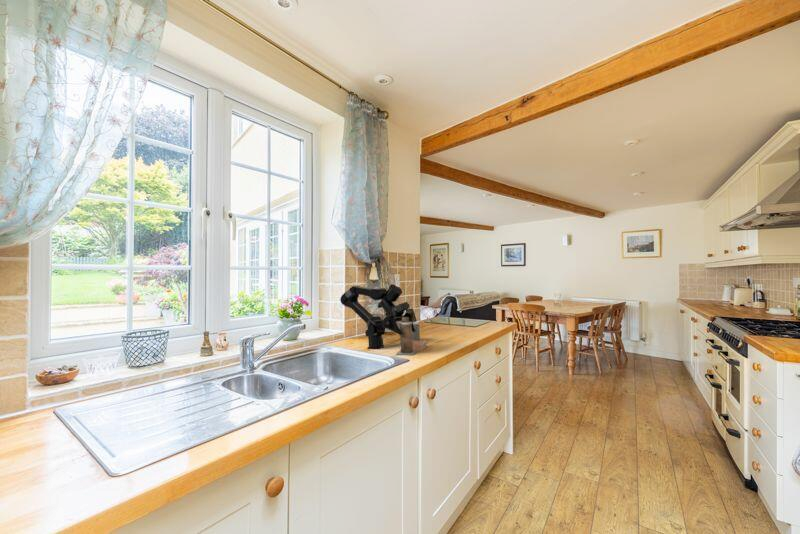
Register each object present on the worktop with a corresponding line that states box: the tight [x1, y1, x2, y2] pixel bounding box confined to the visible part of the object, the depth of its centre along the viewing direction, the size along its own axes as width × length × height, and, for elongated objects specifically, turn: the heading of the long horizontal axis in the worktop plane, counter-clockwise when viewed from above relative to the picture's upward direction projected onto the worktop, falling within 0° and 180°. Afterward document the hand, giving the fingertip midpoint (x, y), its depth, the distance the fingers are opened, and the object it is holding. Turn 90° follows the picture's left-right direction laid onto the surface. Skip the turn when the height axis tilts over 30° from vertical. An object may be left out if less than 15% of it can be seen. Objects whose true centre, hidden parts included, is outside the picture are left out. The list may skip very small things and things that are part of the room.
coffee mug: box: [412, 321, 421, 341], centre depth 184 cm, size 13×10×10 cm
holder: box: [412, 340, 428, 352], centre depth 166 cm, size 9×9×3 cm
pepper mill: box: [399, 317, 413, 353], centre depth 158 cm, size 6×6×16 cm
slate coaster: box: [396, 349, 418, 356], centre depth 157 cm, size 8×8×1 cm
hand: (408, 333), depth 157 cm, fingers open, 9 cm apart
